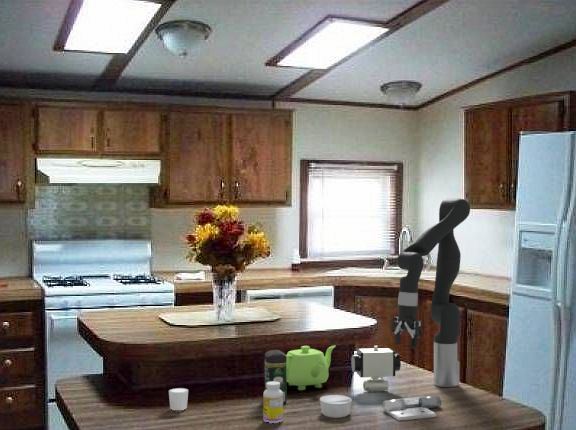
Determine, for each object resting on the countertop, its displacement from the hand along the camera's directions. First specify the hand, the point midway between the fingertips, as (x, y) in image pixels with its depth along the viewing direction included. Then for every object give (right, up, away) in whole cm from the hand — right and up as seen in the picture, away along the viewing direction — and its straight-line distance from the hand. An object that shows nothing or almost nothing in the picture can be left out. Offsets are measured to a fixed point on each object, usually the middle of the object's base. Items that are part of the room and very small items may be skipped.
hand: (405, 346), depth 272 cm
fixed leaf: (+1, -18, -17) cm, 25 cm away
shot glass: (-84, -19, -22) cm, 89 cm away
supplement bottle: (-50, -19, -35) cm, 64 cm away
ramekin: (-29, -19, -27) cm, 44 cm away
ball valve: (-11, -18, +3) cm, 22 cm away
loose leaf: (-3, -18, -27) cm, 33 cm away
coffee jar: (-50, -19, -11) cm, 54 cm away
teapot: (-36, -18, +10) cm, 41 cm away
